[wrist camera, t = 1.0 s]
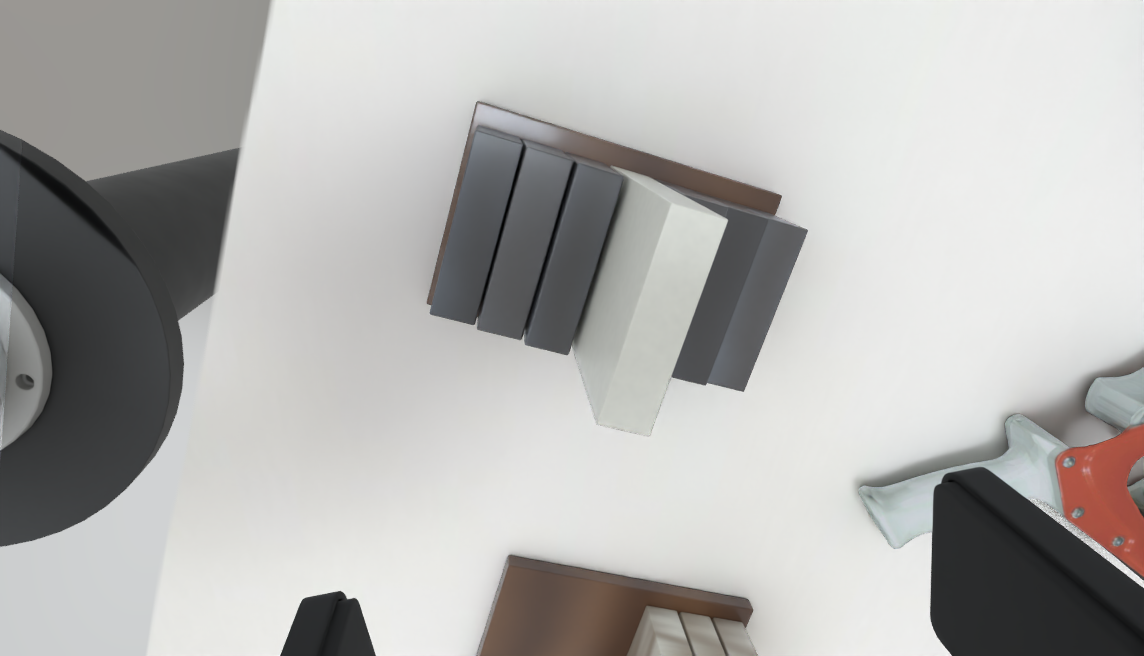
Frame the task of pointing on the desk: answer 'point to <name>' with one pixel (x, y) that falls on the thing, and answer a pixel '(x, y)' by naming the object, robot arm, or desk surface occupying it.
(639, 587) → the leaning book row
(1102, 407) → the tape dispenser
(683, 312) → the white book
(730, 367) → the grey book row
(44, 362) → the robot arm
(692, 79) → the desk surface
